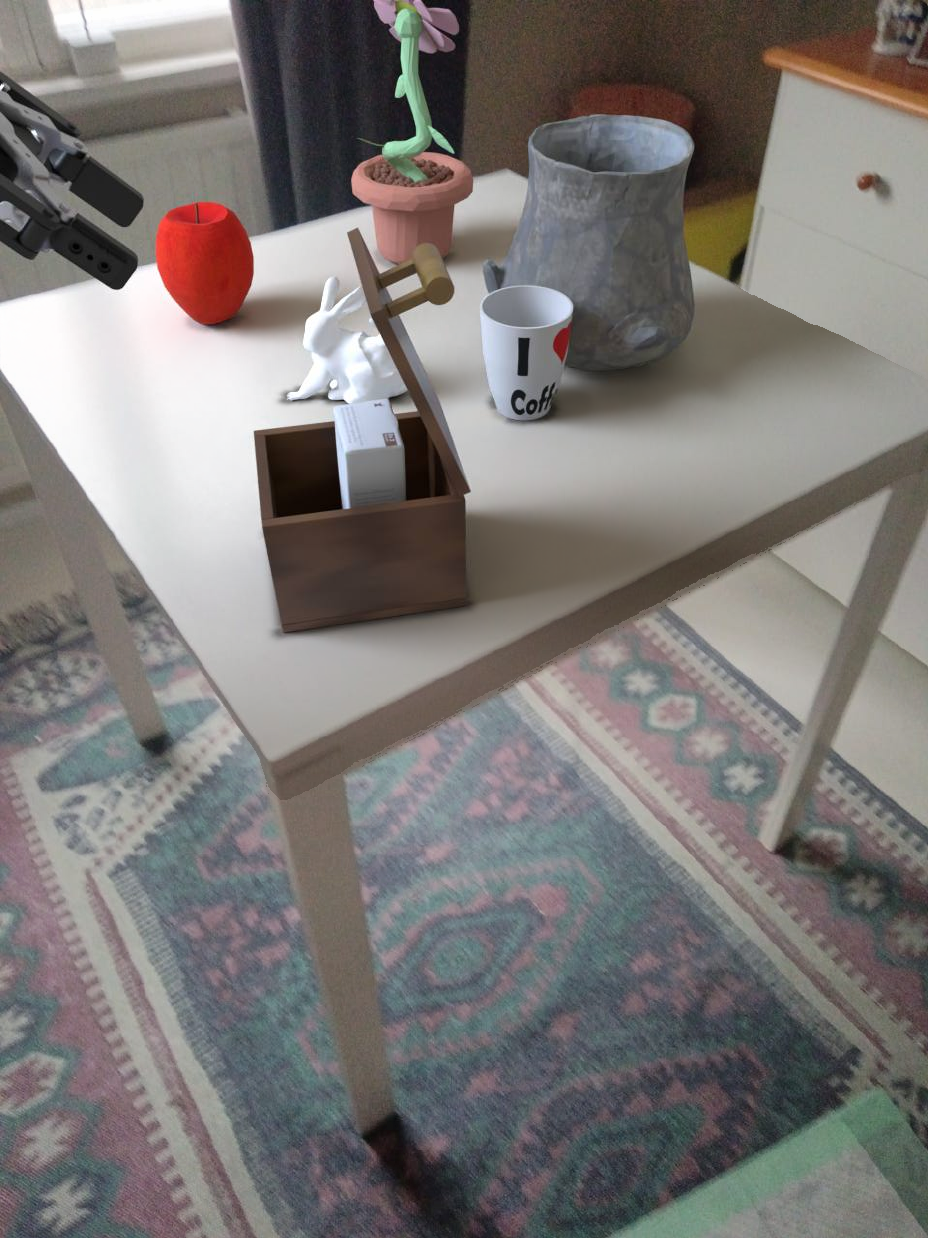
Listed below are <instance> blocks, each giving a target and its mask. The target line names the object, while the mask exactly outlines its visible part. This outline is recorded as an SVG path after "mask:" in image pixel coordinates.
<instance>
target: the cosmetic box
mask: <svg viewBox="0 0 928 1238" xmlns="http://www.w3.org/2000/svg"><path fill="white" fill-rule="evenodd" d="M332 412H333V419H334V420H333V421H335V432H336V446H337V457H338V467H339V479H340V488H341V499H342V509H349V508H356V507H364V506H371V505H379V504H386V503H394V502H402V501H406V481H405V452H404V444H403V441H402V438H401V434H400V431H399V428H398V421H397V418H396V416H395V415H394V414H395V413H394V408H393V406H392V403H391V400H390V399H389V398H387V399H380V400H372V401H366V402H359V403H352V404H349V403H346V404H341V405H335V406H333V407H332Z"/></svg>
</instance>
